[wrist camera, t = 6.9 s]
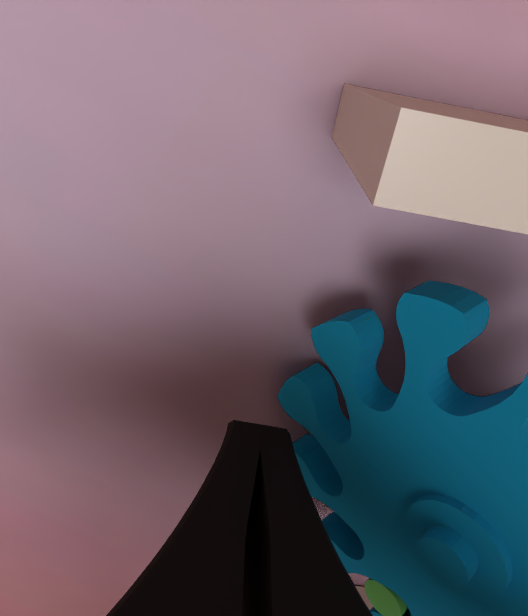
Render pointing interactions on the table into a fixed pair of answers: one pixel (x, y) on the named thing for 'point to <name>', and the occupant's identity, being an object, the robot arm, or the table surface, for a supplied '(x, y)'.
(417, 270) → the table surface
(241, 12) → the table surface
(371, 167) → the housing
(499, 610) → the blue virus model
